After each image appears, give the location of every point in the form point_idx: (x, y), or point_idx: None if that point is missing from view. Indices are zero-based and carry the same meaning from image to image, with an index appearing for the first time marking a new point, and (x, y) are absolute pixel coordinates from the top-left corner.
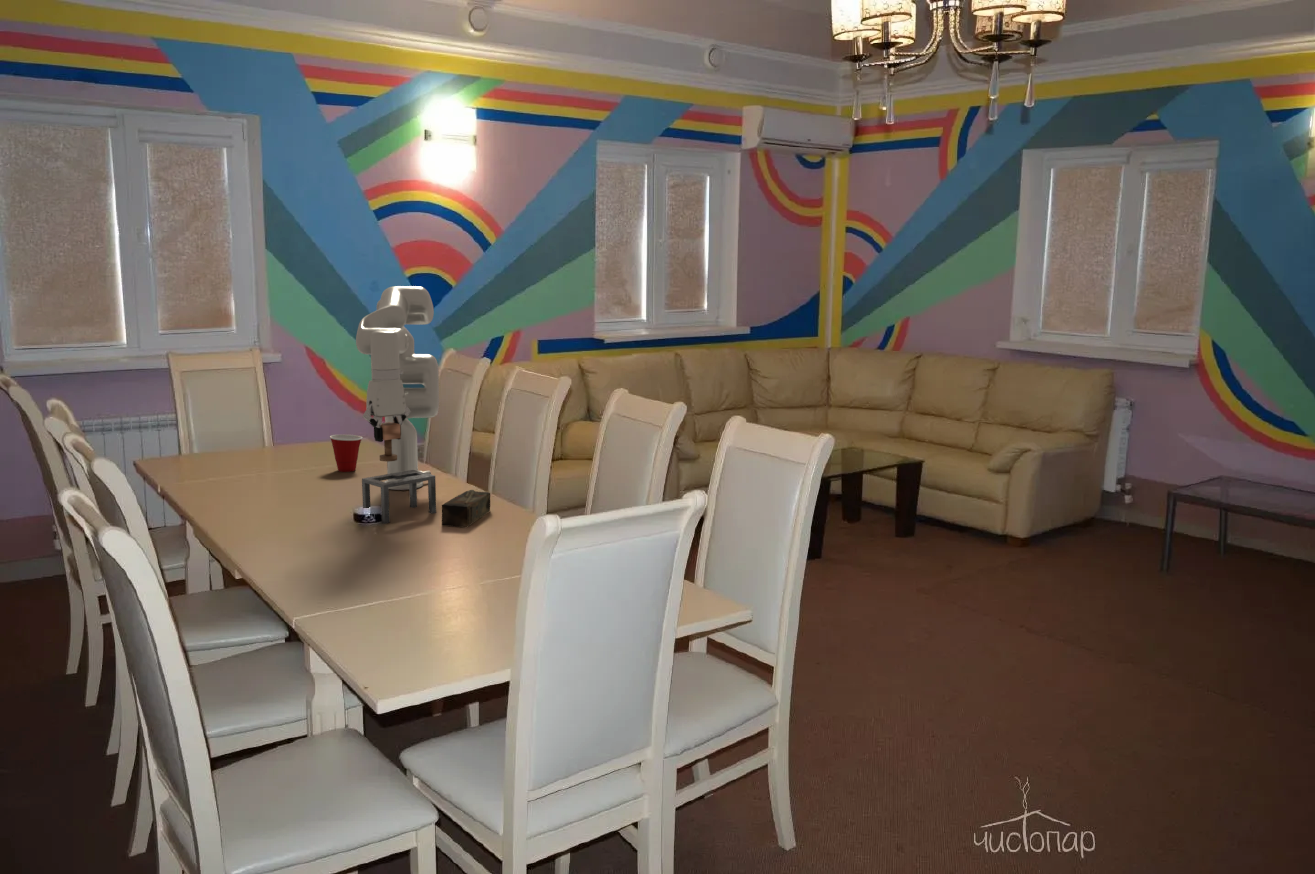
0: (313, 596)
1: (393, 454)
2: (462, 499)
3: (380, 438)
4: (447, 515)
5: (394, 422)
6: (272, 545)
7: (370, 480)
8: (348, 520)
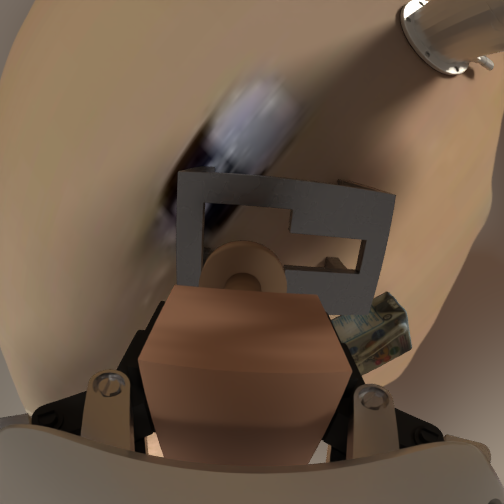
0: (34, 397)
1: (278, 285)
2: None
3: None
4: None
5: (338, 419)
6: (11, 231)
7: (181, 222)
8: (157, 172)
